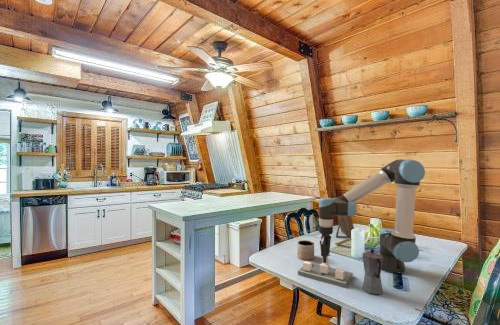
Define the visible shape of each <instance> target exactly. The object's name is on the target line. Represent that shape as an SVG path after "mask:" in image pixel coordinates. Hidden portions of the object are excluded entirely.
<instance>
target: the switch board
mask: <svg viewBox="0 0 500 325" xmlns="http://www.w3.org/2000/svg"><path fill="white" fill-rule="evenodd" d="M336 269H337V268H333V267H330V266H329V272H328V274H325V273H321V272H320V264H317V263H313V262H312V270H311V271H306V270H303V266H302V267H301V268H299V270H297V275H298V276H301V277H304V278H305V277H306V278H309V279H311V280H316V281H319V282H324V283H326V284H327V283H328V284H331V285H335V286H338V287H341V288H345V289H346V288H347V287H348V285H349V284H350V282H351V281H352V278H353V276H354V275H353V274H354V273H353V272H350V271H346V270H345V278H344V279H343V280H341V279H337V278H335V270H336Z"/></svg>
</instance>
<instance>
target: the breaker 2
mask: <svg viewBox="0 0 500 325" xmlns="http://www.w3.org/2000/svg"><path fill="white" fill-rule="evenodd" d="M335 269H336V270H335V278H337V279H341V280H343V279H344V278H345V271H346V270H344V269H341V268H335Z"/></svg>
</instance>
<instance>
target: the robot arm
mask: <svg viewBox="0 0 500 325" xmlns="http://www.w3.org/2000/svg"><path fill="white" fill-rule="evenodd" d="M425 175H426V169H425V167H424V165H423V164H422V163H421V162H420V161H418V160H414V159H410V158H409V159H399V158H398V159H395V160H393V161H391V162H389V163H388V164H386V165H385V166H383V167H382V168H380V169H378V172H377V173H375V174H374V175H372V176H371V177H368V178H367V179H366V180H364V181H363V182H361V183H359V184H357V185H356V186H354V187H353V188H351V189H350V190H348V191H347V192H345V193H343V194H341V195H340V196H339V197H333V198H332V197H321V198H320V199H319V201H318V202H319V203H318V204H319V205H318V219H317V220H318V232H319V233H320V235H321V236H320V239H321V240H319V244H320V247H319V248H320V257H322V263H323V264H327V265H329V257H330V256H331V255H330V253H331V242H332V241H331V239H332V234H333V233H334V232H333V231H334V227H333V226H334V216H337V217H338V216H351V217H354V216H355V215H357V205H356V203H357V202H358V201H360V200H362V199H363V198H365V197H367V196H368V195H370V194H372V193H374V192H375V191H376V190H378V189H380V188H382V187H383V186H384V185H386V184H391V183H393V182H394V185H395V186H396V187H397V189H396V203H395V213H394V214H395V217H394V228H381V229H380V230H379V253H378V254H379V255H382V257H383V260H382V268H381V271H384V272H387V273H392V274H394V273H393V272H400V273H399V274H401V273H405V272H406V264H405V263H412V262H414V261H415V260H417V258H418V257H419V255H420V248H419V247H418V245H417V244H416V239H417V237H416V235H415V234H414V218H415V205H416V204H415V203H416V195H417V194H416V190H417V188H418V187H420V184H421V181H422V179H424V177H425Z"/></svg>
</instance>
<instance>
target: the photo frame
mask: <svg viewBox="0 0 500 325" xmlns="http://www.w3.org/2000/svg"><path fill="white" fill-rule="evenodd" d="M337 220H338V227H337V229H336V233H335V238H337V237H339V236H338V235H339V232H341V233H342V234H344V235H345V236H346V237H347V238H349V239H350V240H352V239H351V230H352V229H354V230H355V227H354V223H353V218H352V216H337Z"/></svg>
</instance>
